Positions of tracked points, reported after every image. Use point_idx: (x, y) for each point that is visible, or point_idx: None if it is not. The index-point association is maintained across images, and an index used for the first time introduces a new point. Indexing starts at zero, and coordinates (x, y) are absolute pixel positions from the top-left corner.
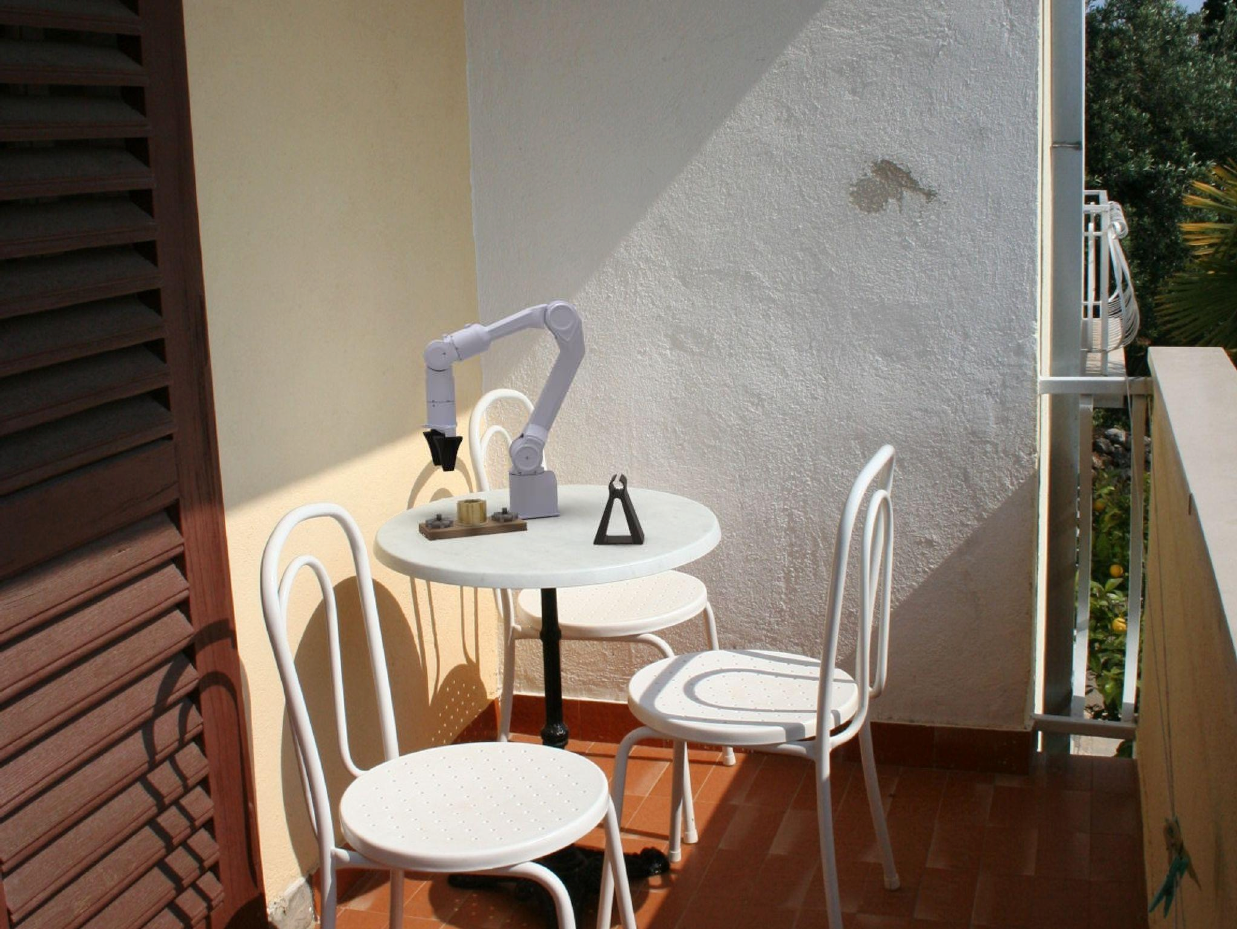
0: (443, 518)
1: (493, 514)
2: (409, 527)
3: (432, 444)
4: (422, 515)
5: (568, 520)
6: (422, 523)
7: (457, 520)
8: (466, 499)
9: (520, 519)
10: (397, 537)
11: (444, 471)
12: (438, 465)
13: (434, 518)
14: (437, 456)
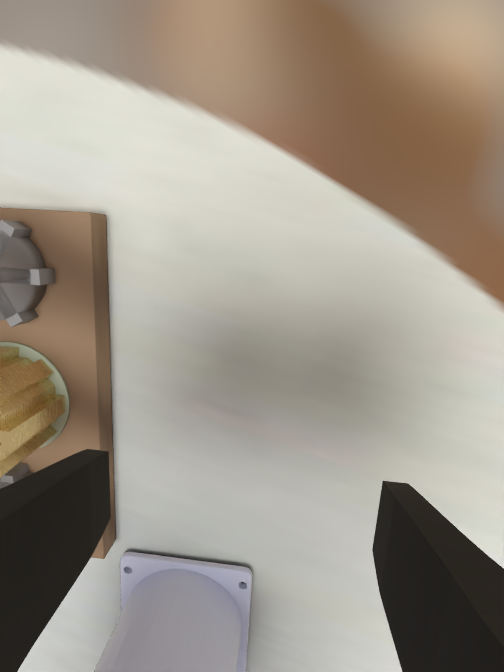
0: (12, 300)
1: (10, 482)
2: (191, 199)
3: (479, 664)
4: (394, 315)
5: (61, 658)
6: (82, 227)
7: (11, 349)
8: (2, 433)
9: None
10: (33, 104)
11: (83, 452)
12: (380, 508)
13: (24, 266)
14: (404, 565)
